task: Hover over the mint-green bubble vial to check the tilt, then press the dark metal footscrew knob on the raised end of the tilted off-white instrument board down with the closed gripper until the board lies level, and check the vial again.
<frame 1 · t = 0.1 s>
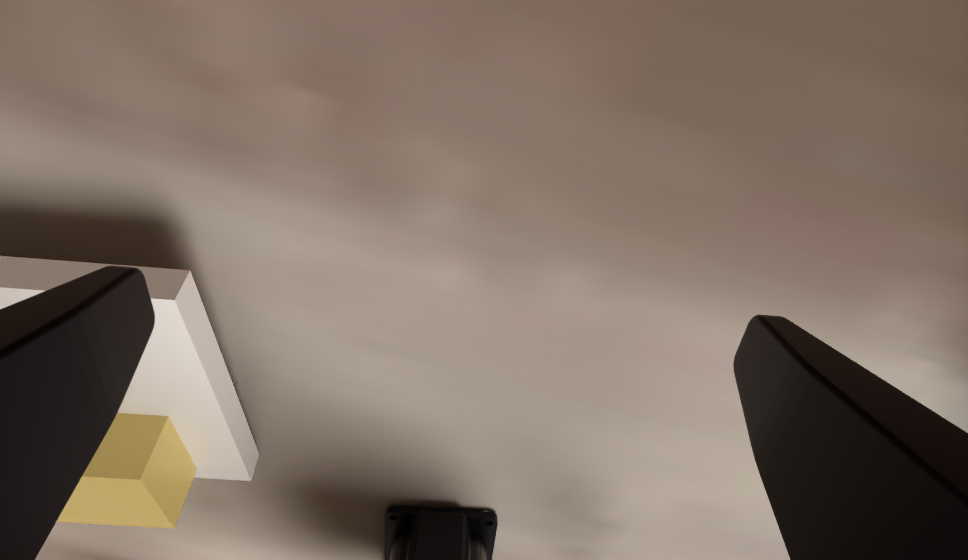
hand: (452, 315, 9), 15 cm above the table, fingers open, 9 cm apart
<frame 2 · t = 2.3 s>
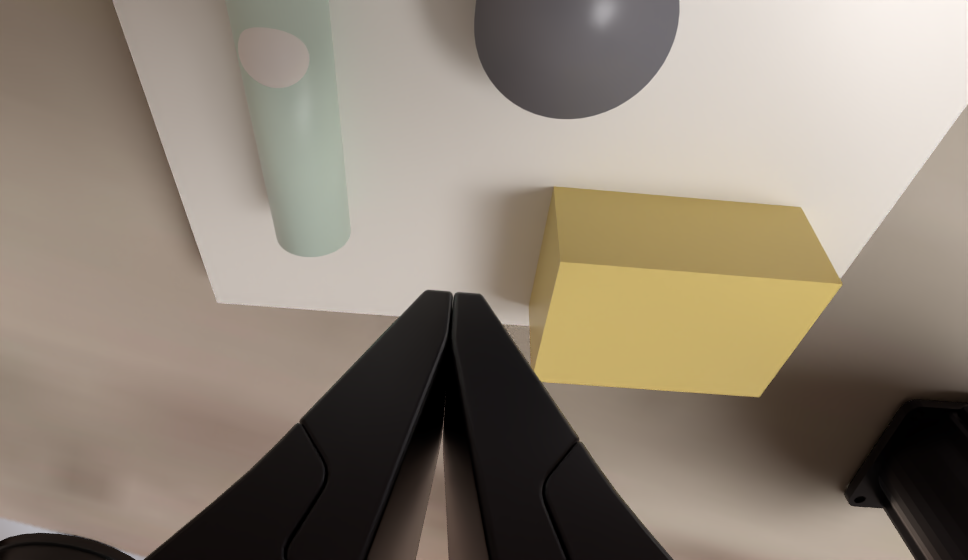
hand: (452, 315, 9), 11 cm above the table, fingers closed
instrument board: (542, 170, 15), point 4 cm above the table, hinge at 12.0°
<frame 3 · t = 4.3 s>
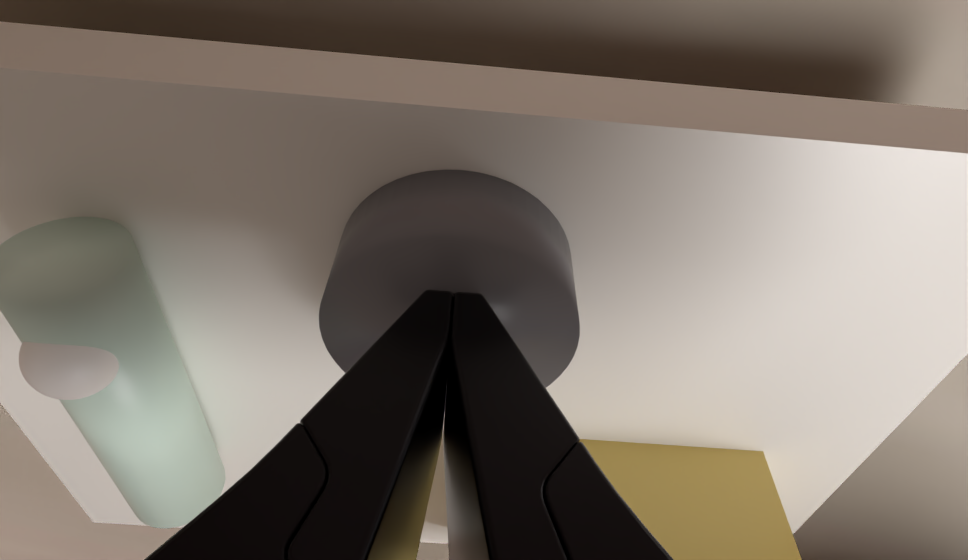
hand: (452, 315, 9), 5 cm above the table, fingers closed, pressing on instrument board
instrument board: (443, 433, 13), point 4 cm above the table, hinge at 9.6°, touching gripper
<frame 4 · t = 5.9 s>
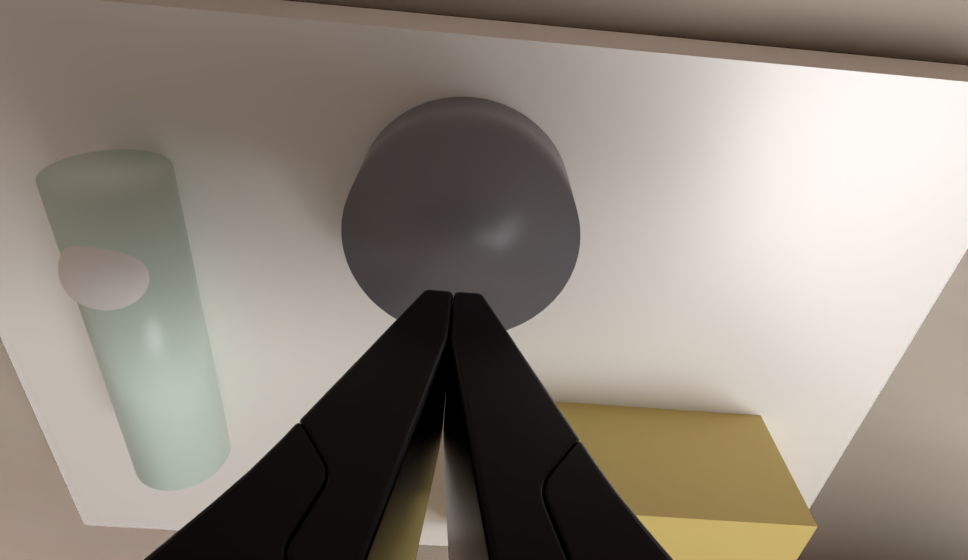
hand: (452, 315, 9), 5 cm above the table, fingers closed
instrument board: (450, 384, 13), point 2 cm above the table, hinge at -0.5°
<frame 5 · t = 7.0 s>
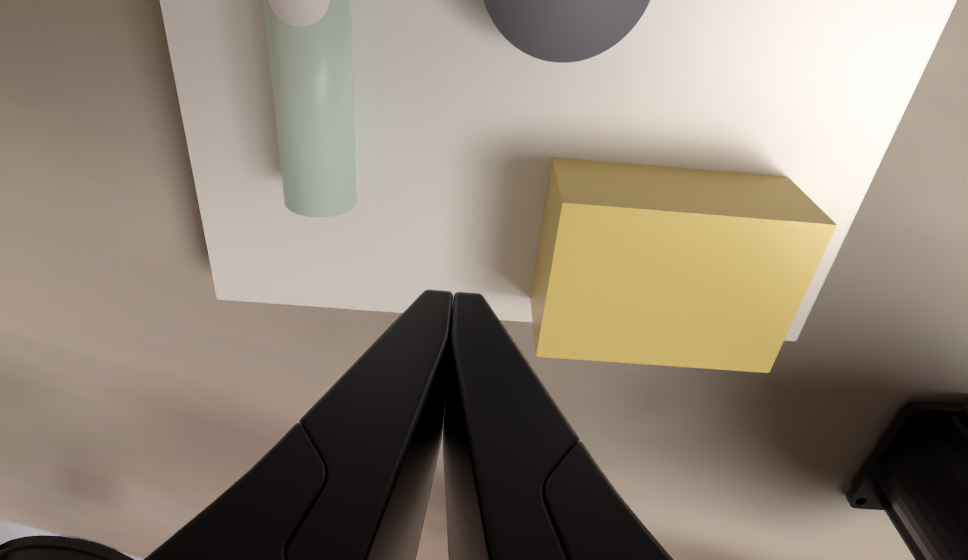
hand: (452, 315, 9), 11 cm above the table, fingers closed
instrument board: (541, 131, 16), point 2 cm above the table, hinge at -0.5°
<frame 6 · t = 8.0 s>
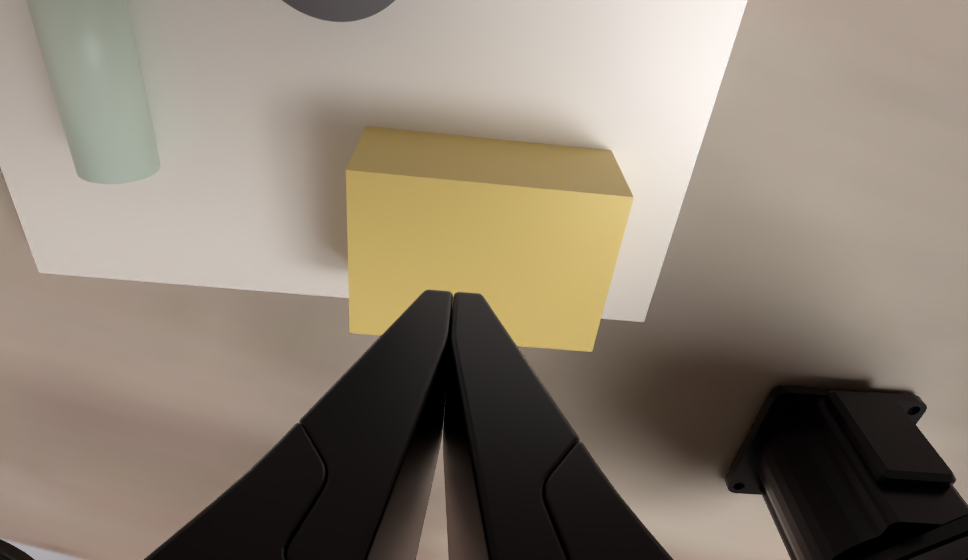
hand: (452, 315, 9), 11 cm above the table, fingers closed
instrument board: (341, 96, 16), point 2 cm above the table, hinge at -0.5°
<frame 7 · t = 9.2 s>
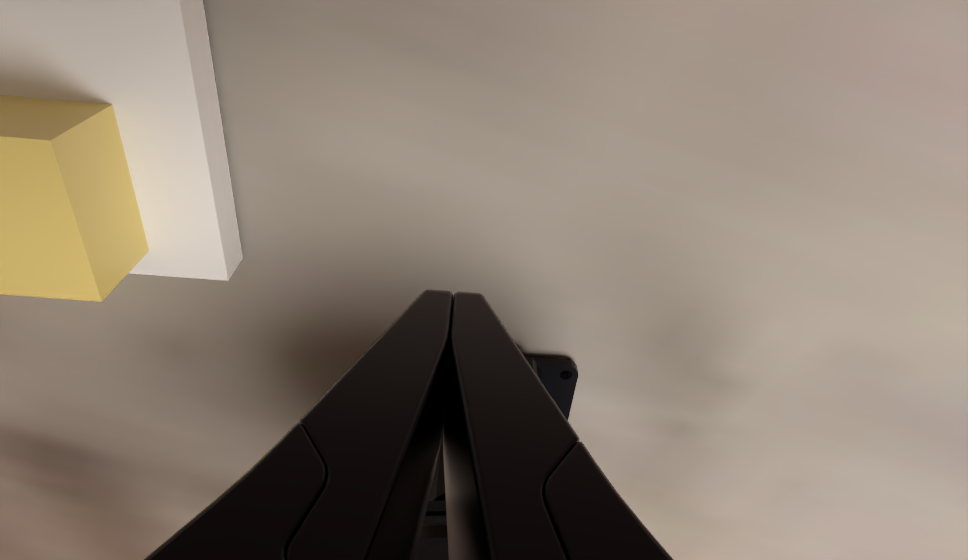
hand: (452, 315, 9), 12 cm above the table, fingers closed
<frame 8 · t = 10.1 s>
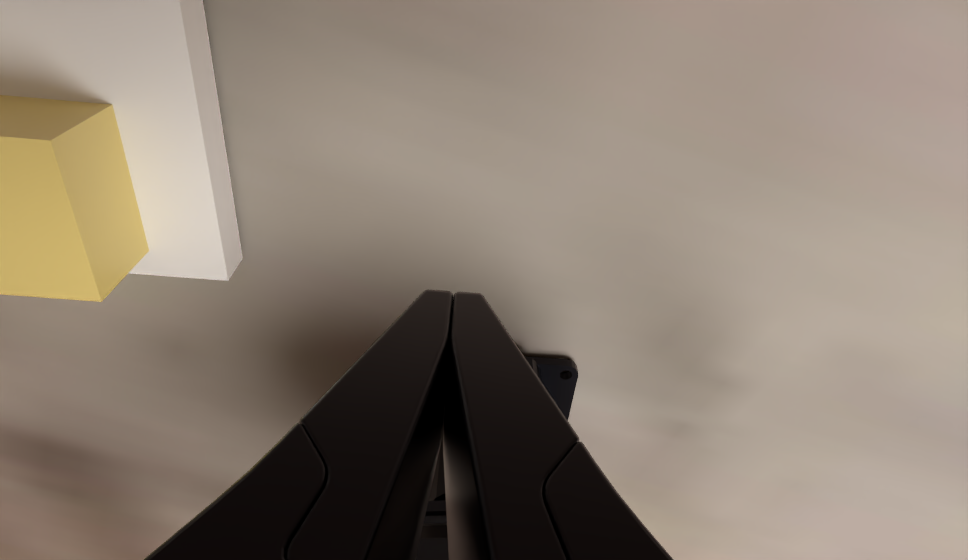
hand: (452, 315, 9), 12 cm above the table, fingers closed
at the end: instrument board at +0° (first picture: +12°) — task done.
